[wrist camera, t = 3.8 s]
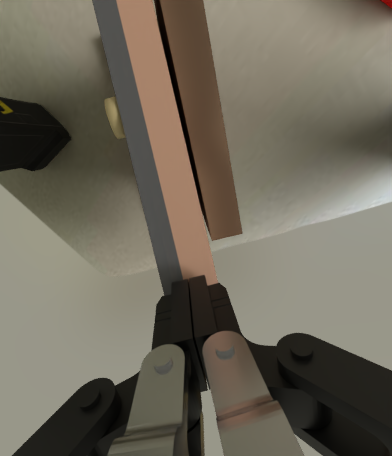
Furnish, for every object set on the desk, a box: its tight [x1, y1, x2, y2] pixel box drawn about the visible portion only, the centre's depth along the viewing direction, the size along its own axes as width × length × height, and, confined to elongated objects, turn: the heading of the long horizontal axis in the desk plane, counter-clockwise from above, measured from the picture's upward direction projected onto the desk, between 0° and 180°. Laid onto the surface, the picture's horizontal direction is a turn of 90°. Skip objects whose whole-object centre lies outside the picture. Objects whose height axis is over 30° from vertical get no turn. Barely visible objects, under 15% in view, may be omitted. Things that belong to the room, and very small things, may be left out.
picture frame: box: [92, 0, 218, 296], centre depth 19 cm, size 3×22×16 cm, turn 12°
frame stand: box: [154, 0, 242, 241], centre depth 24 cm, size 10×24×24 cm, turn 13°
